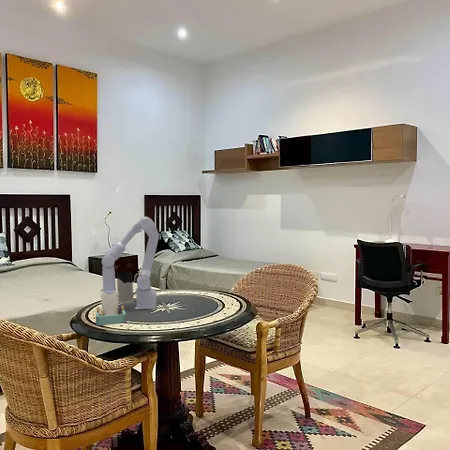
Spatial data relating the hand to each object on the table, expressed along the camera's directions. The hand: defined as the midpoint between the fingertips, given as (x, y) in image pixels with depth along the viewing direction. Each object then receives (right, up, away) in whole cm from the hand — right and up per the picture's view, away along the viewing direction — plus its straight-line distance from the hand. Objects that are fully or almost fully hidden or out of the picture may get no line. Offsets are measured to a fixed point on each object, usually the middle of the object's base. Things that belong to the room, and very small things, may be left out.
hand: (110, 308), depth 213 cm
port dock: (+6, -2, -21) cm, 22 cm away
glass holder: (+6, 0, +19) cm, 20 cm away
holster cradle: (+2, -1, -8) cm, 8 cm away
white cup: (+2, -2, -8) cm, 8 cm away
